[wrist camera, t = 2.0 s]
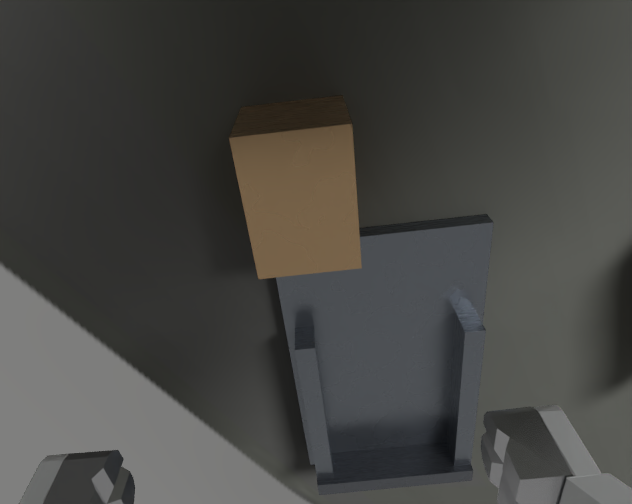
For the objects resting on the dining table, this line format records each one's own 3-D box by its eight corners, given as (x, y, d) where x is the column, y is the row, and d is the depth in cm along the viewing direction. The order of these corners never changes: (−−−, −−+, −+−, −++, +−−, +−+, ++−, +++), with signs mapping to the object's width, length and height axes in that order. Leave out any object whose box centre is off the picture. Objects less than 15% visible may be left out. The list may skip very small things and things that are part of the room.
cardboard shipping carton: (342, 94, 23) (352, 124, 19) (351, 219, 27) (361, 268, 22) (241, 106, 23) (229, 137, 19) (264, 229, 27) (258, 279, 22)
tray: (486, 214, 26) (511, 245, 24) (465, 438, 37) (480, 479, 34) (271, 237, 27) (267, 271, 24) (310, 453, 37) (311, 495, 34)
